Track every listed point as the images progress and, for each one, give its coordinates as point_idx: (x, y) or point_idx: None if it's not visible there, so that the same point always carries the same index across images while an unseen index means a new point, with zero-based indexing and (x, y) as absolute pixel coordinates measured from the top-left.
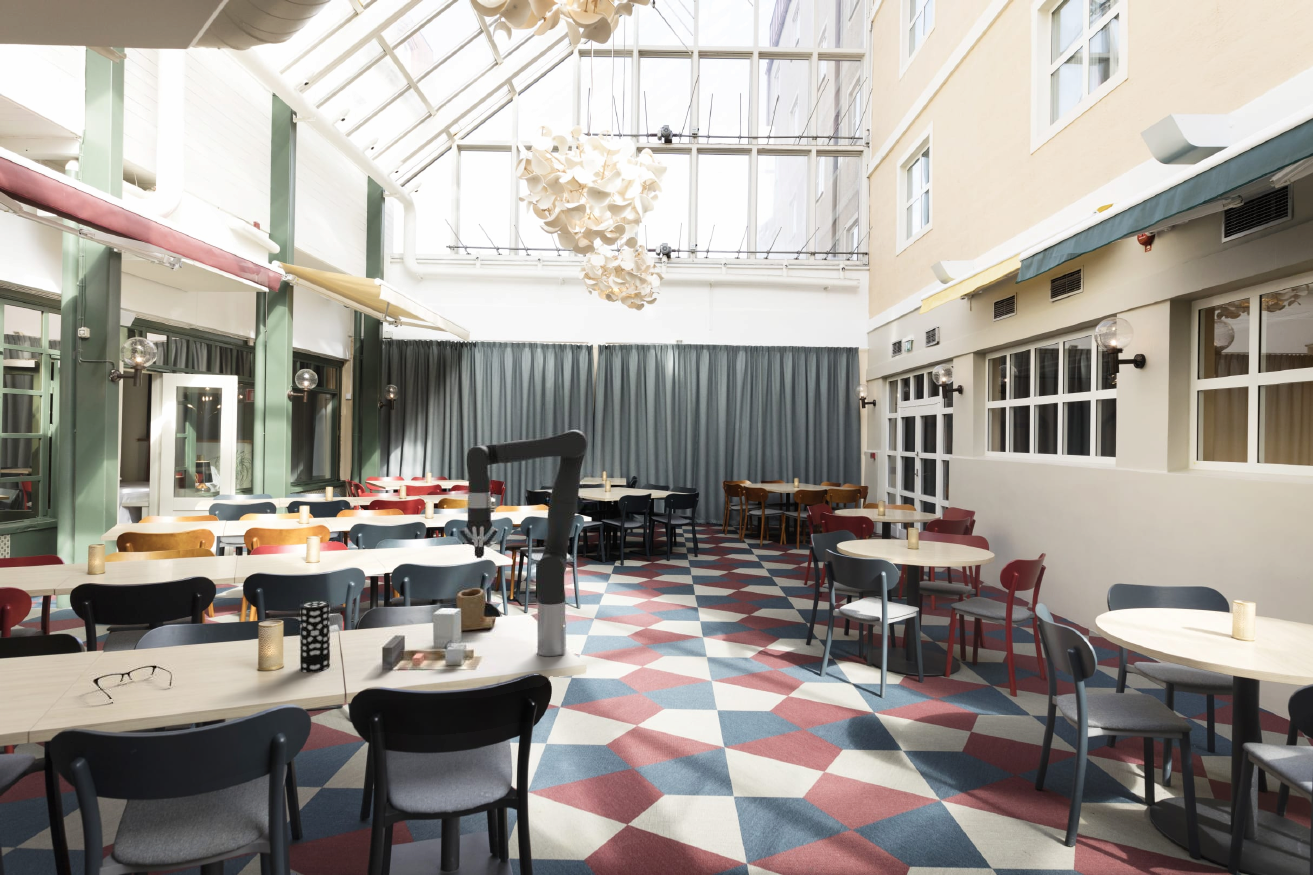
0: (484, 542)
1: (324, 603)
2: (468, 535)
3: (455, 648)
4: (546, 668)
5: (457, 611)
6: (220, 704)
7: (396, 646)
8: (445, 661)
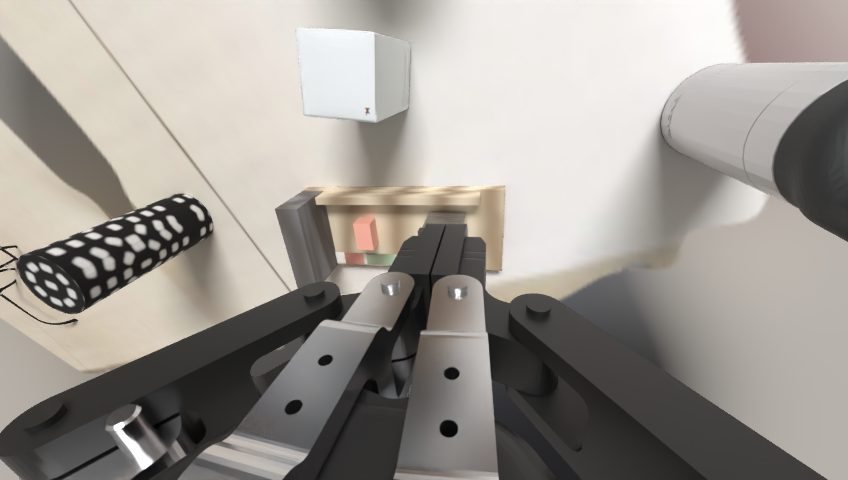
0: (498, 374)
1: (63, 279)
2: (222, 392)
3: None
4: (672, 240)
5: (375, 77)
6: None
7: (314, 261)
8: None
